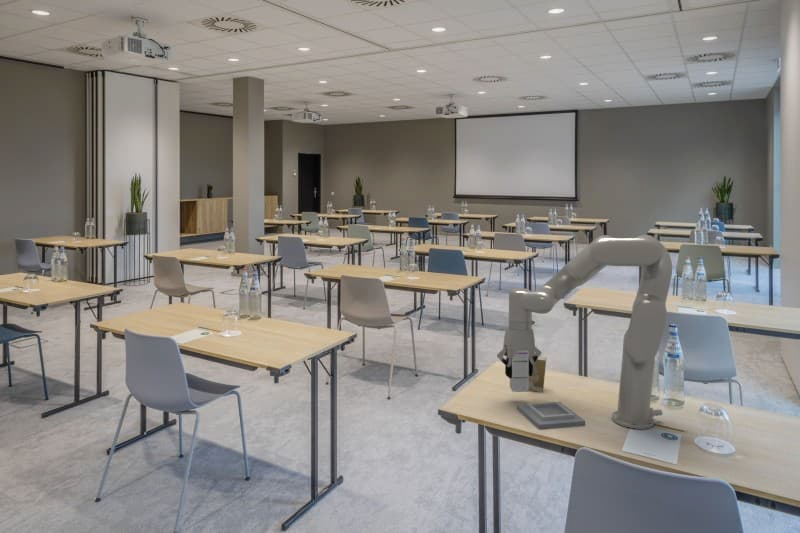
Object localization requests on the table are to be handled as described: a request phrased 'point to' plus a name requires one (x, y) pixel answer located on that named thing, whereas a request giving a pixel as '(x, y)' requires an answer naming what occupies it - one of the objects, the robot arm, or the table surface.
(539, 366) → the skincare box
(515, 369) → the syrup box
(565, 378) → the table surface
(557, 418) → the socket plate
